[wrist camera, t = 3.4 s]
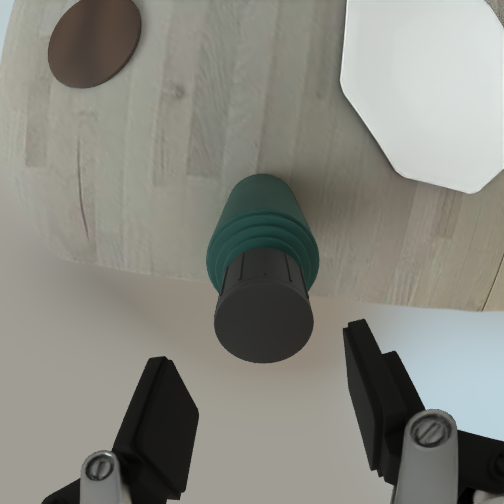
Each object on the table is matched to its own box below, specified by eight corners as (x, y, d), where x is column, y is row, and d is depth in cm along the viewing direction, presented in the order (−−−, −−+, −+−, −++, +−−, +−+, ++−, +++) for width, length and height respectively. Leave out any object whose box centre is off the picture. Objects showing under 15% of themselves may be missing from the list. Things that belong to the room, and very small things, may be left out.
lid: (132, -23, 21) (130, -25, 20) (151, 62, 25) (149, 61, 24) (46, 23, 22) (43, 22, 22) (59, 105, 26) (56, 105, 26)
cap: (294, 238, 15) (305, 272, 12) (309, 308, 16) (319, 353, 13) (213, 256, 15) (200, 294, 12) (235, 323, 17) (229, 370, 13)
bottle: (287, 167, 29) (329, 229, 11) (301, 231, 31) (347, 360, 14) (219, 183, 29) (164, 266, 12) (237, 246, 32) (213, 384, 14)
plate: (423, 227, 30) (429, 232, 29) (287, 32, 24) (289, 27, 22) (541, 124, 24) (548, 125, 23) (444, -43, 18) (449, -48, 16)
